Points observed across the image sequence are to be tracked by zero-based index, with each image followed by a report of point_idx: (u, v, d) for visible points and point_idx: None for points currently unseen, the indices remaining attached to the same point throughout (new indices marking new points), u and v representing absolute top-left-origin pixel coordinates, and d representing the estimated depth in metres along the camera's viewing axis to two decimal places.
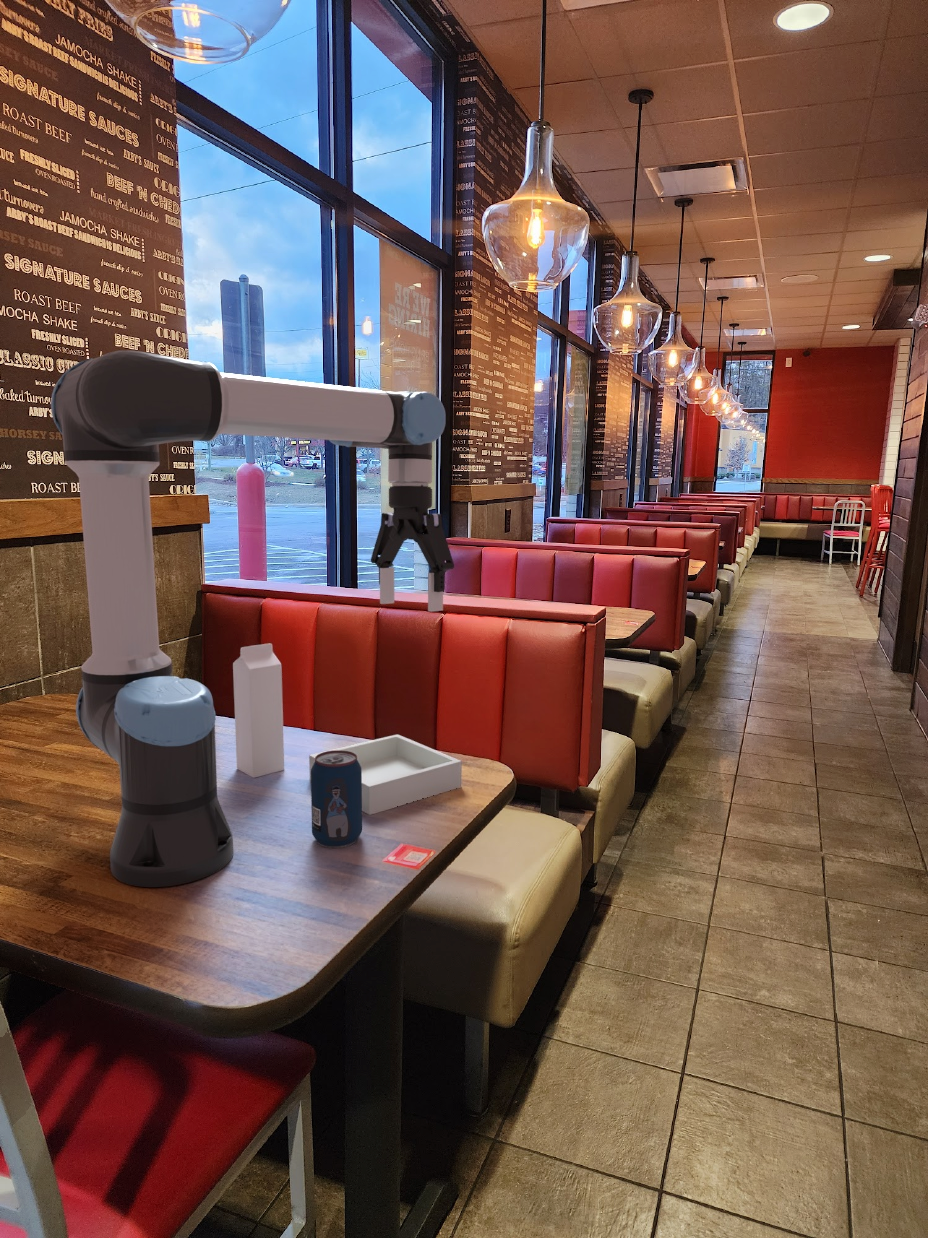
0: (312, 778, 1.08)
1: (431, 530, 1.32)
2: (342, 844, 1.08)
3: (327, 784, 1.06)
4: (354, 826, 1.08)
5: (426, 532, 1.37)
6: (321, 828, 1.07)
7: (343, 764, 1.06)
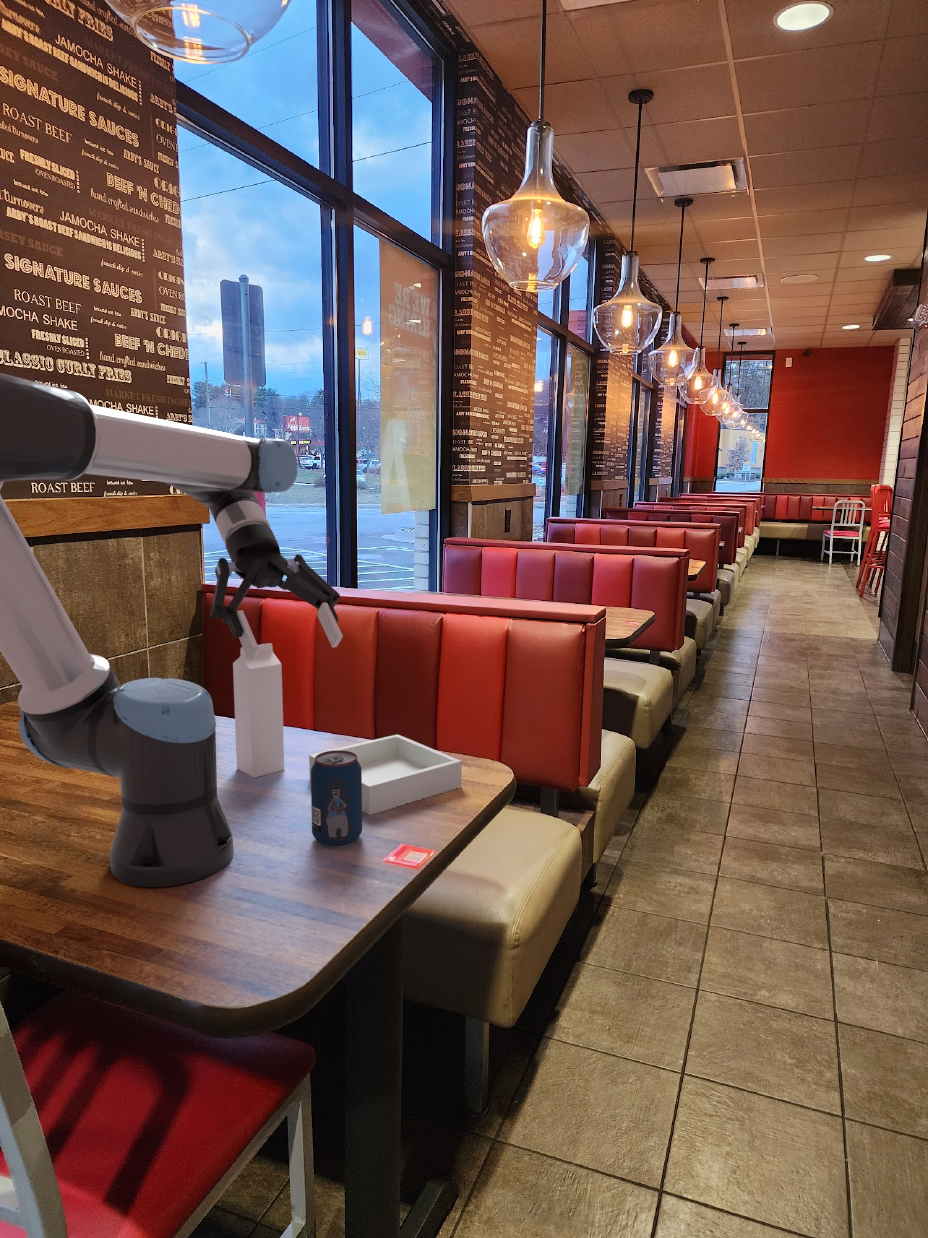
0: (312, 778, 1.08)
1: (308, 567, 1.24)
2: (342, 844, 1.08)
3: (327, 784, 1.06)
4: (354, 826, 1.08)
5: (281, 581, 1.23)
6: (321, 828, 1.07)
7: (343, 764, 1.06)
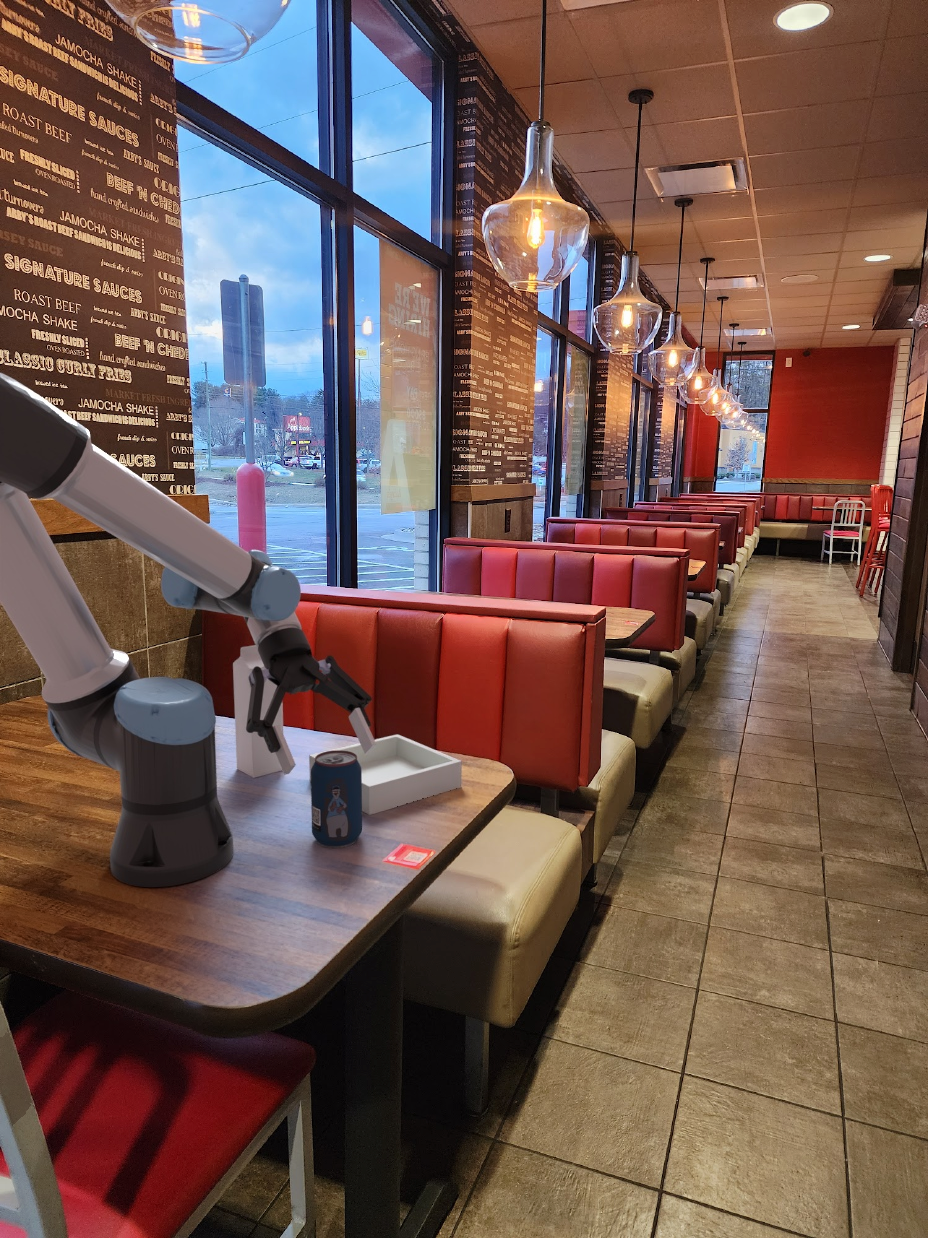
0: (312, 778, 1.08)
1: (340, 669, 1.24)
2: (342, 844, 1.08)
3: (327, 784, 1.06)
4: (354, 826, 1.08)
5: None
6: (321, 828, 1.07)
7: (343, 764, 1.06)
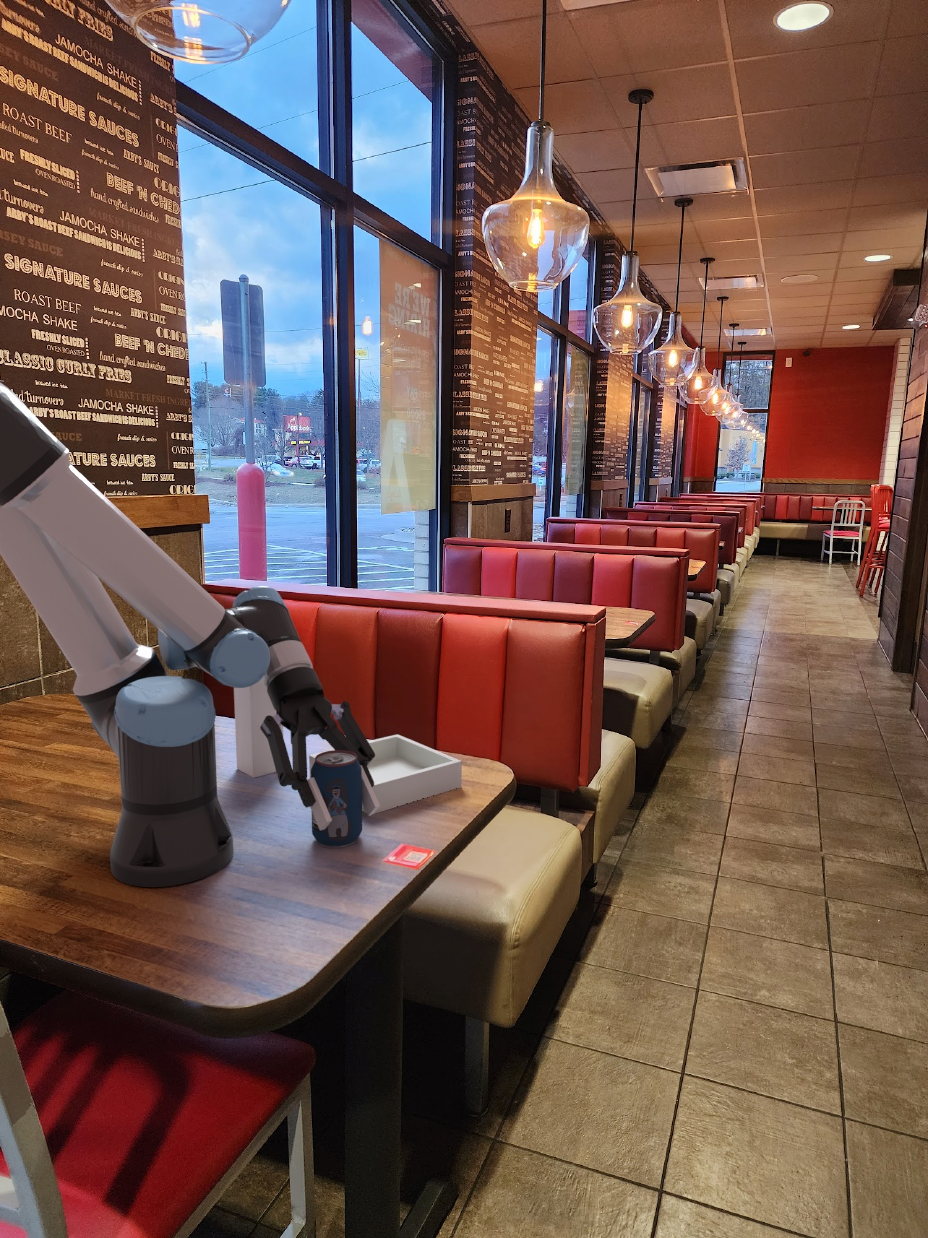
0: None
1: (352, 717, 1.17)
2: (342, 844, 1.08)
3: (327, 783, 1.06)
4: (354, 826, 1.08)
5: None
6: None
7: (343, 764, 1.06)
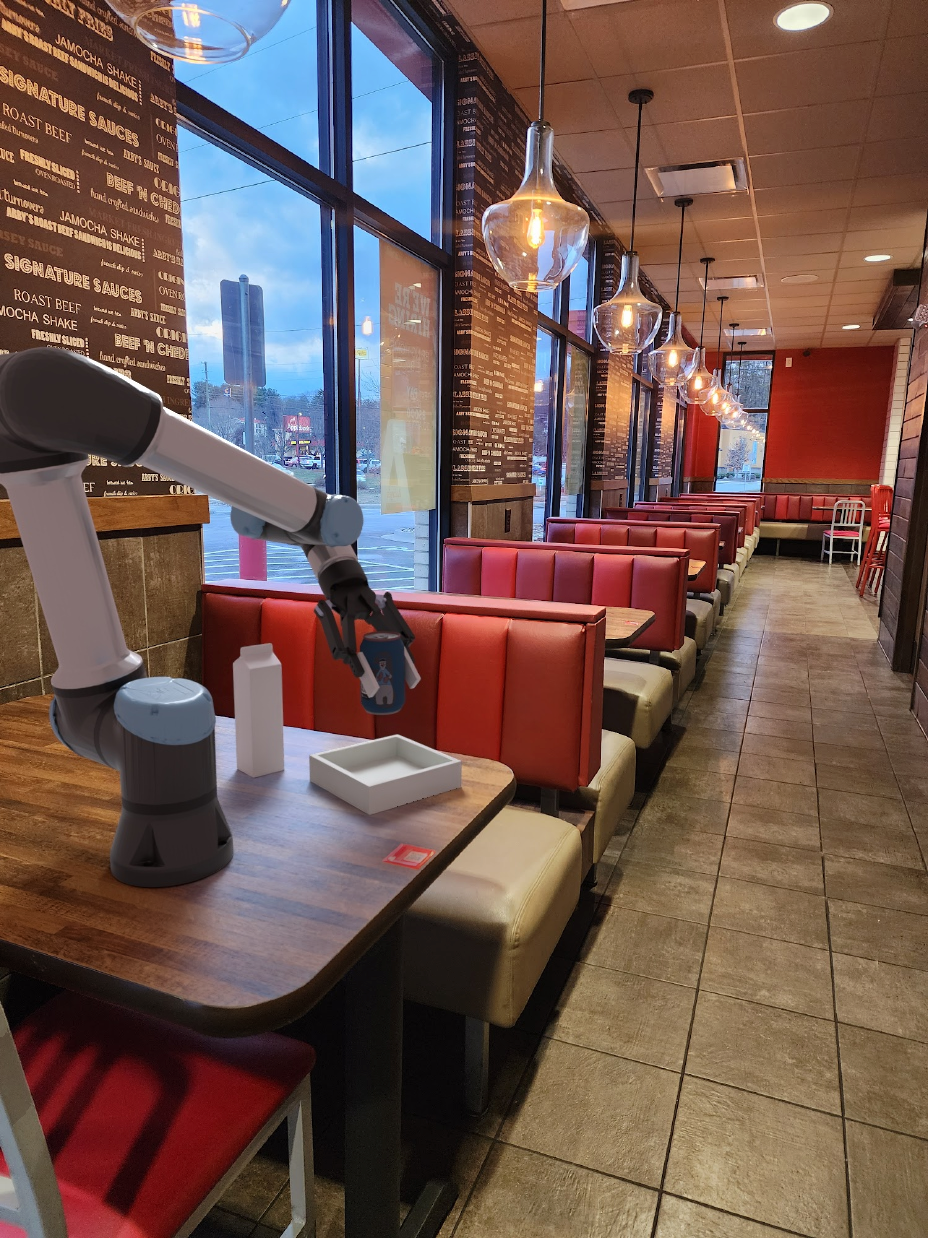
0: None
1: (394, 605, 1.30)
2: (388, 711, 1.22)
3: (375, 656, 1.20)
4: (398, 695, 1.22)
5: None
6: None
7: (388, 639, 1.20)
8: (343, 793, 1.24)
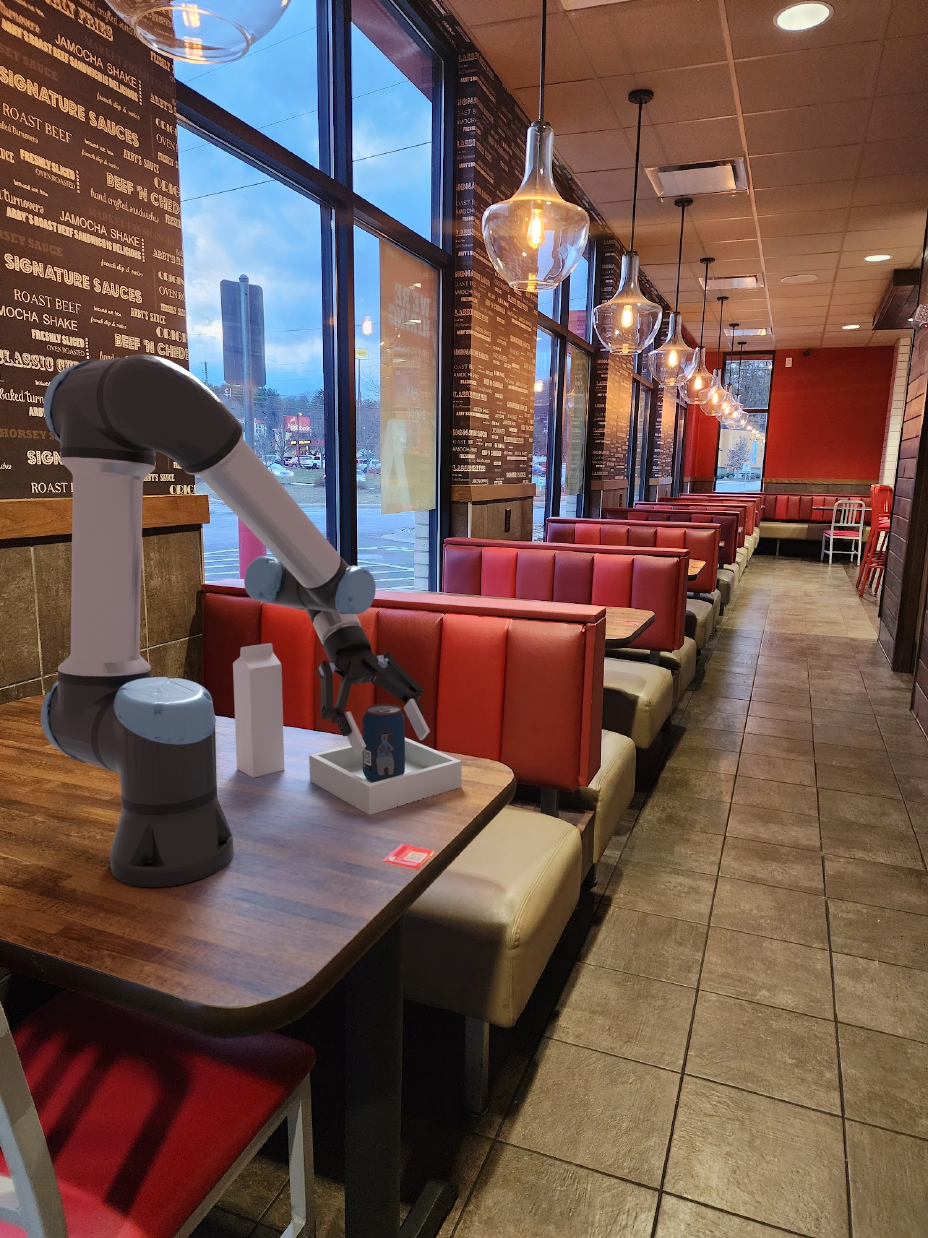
0: (364, 725, 1.28)
1: (396, 664, 1.38)
2: None
3: (377, 729, 1.26)
4: (399, 766, 1.29)
5: None
6: (371, 767, 1.28)
7: (390, 713, 1.27)
8: (343, 793, 1.24)
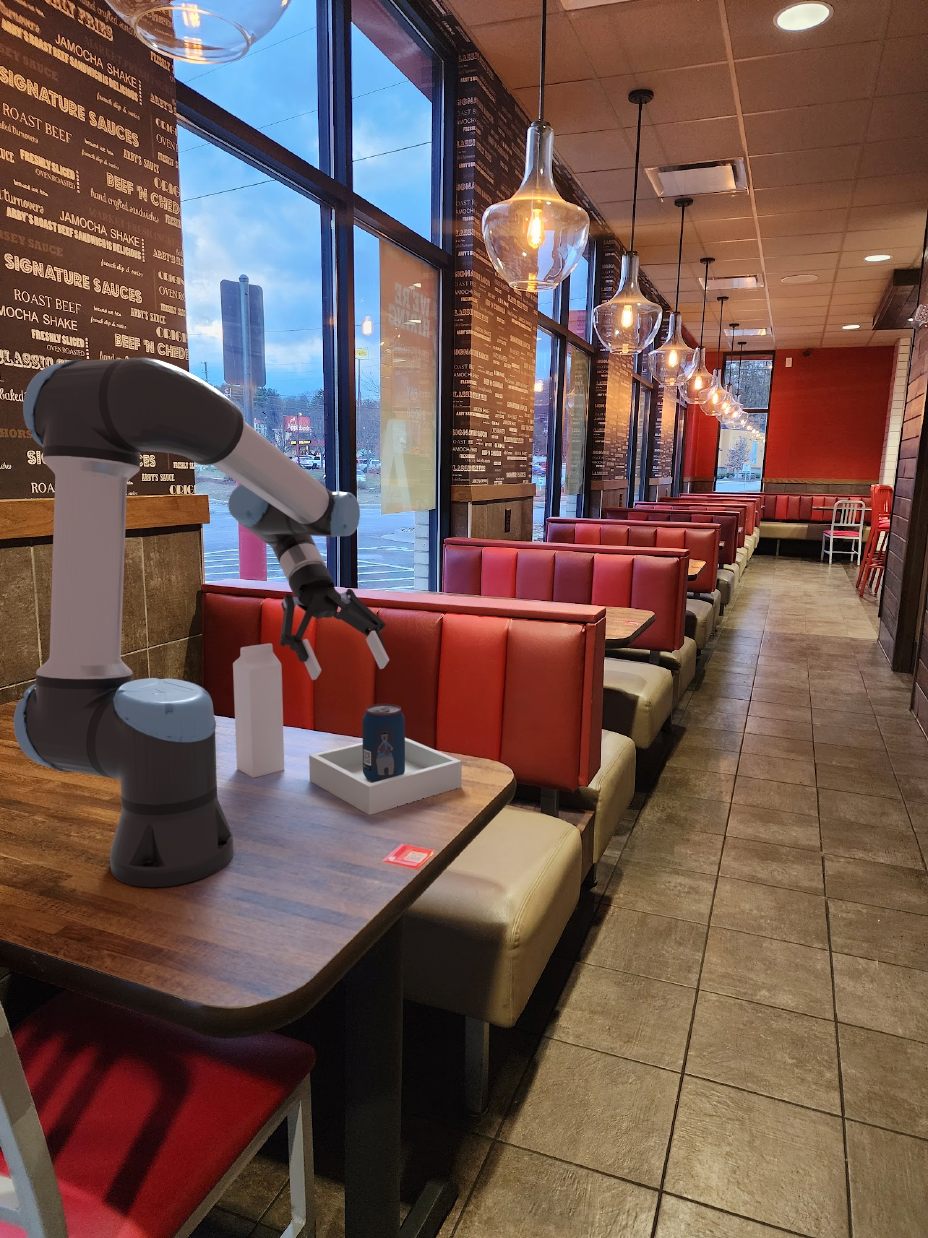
0: (364, 725, 1.28)
1: (358, 600, 1.46)
2: None
3: (377, 729, 1.26)
4: (399, 766, 1.29)
5: None
6: (371, 767, 1.28)
7: (390, 713, 1.27)
8: (343, 793, 1.24)
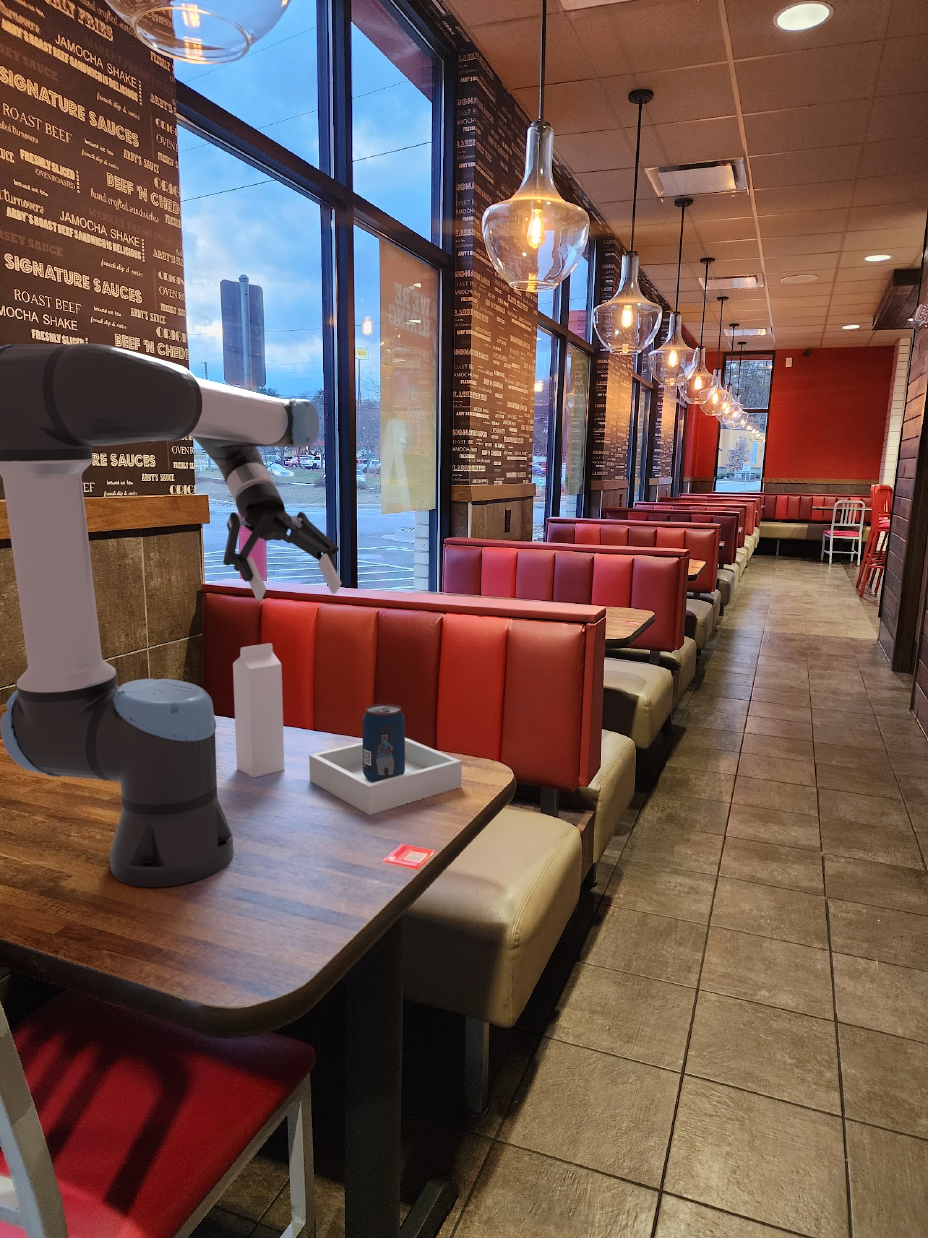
0: (364, 725, 1.28)
1: (310, 523, 1.38)
2: None
3: (377, 729, 1.26)
4: (399, 766, 1.29)
5: (285, 535, 1.37)
6: (371, 767, 1.28)
7: (390, 713, 1.27)
8: (343, 793, 1.24)
